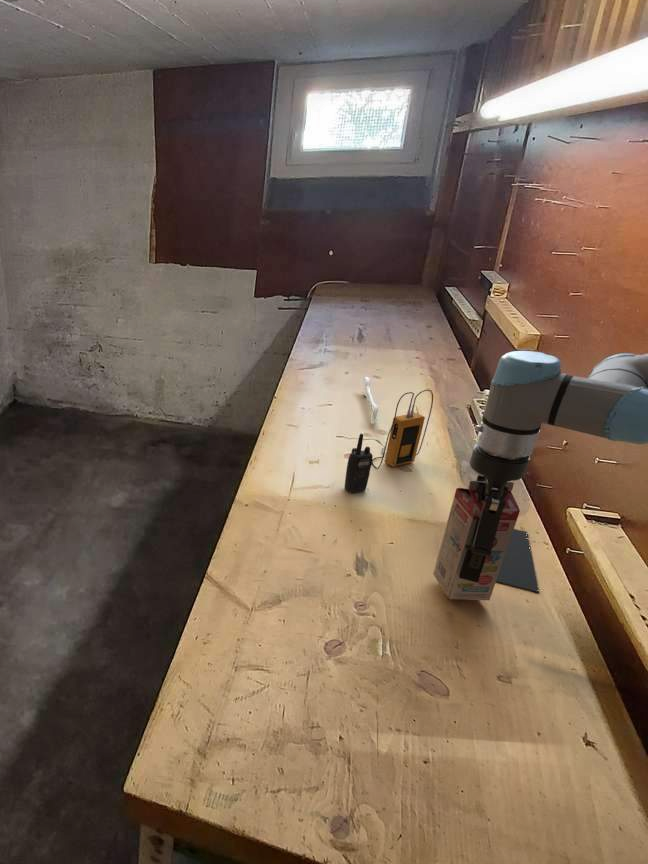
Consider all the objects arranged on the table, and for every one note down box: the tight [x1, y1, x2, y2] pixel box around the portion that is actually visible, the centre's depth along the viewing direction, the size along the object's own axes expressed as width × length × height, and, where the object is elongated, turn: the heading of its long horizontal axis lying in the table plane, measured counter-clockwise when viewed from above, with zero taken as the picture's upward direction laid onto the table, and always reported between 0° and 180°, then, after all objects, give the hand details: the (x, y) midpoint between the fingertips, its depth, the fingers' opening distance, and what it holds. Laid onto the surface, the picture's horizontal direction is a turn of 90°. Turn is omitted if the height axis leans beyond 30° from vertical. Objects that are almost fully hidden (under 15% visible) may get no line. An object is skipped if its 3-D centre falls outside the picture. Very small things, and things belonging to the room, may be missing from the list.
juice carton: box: [432, 480, 521, 601], centre depth 96 cm, size 7×7×22 cm
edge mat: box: [496, 528, 540, 593], centre depth 111 cm, size 14×20×1 cm
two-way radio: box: [344, 433, 374, 493], centre depth 130 cm, size 6×4×15 cm
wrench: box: [362, 377, 379, 425], centre depth 172 cm, size 28×2×6 cm, turn 164°
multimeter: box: [371, 389, 434, 470], centre depth 142 cm, size 15×10×20 cm
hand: (467, 563), depth 98 cm, fingers closed on juice carton, 8 cm apart
